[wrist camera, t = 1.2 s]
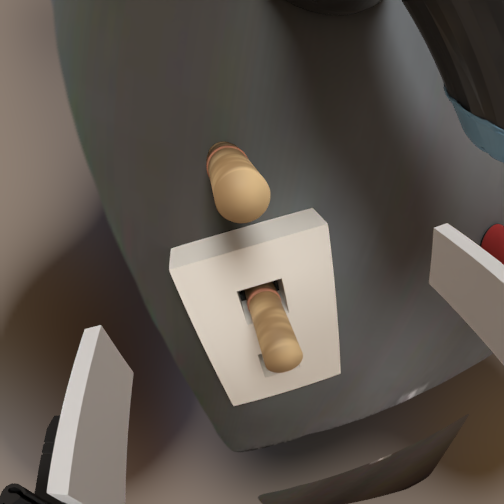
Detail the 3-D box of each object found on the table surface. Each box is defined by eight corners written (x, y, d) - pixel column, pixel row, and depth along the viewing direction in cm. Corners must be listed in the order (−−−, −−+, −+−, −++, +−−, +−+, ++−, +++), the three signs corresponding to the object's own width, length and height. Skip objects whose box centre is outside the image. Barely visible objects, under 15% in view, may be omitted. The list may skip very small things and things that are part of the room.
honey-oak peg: (236, 134, 30) (265, 161, 19) (244, 168, 32) (276, 215, 20) (200, 144, 30) (205, 177, 18) (210, 178, 32) (221, 231, 20)
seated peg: (267, 263, 37) (301, 340, 26) (273, 287, 39) (306, 366, 28) (237, 271, 37) (259, 352, 26) (245, 296, 39) (268, 377, 28)
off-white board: (312, 207, 35) (327, 223, 31) (330, 352, 47) (340, 373, 43) (170, 248, 34) (168, 269, 30) (229, 382, 46) (233, 406, 42)
